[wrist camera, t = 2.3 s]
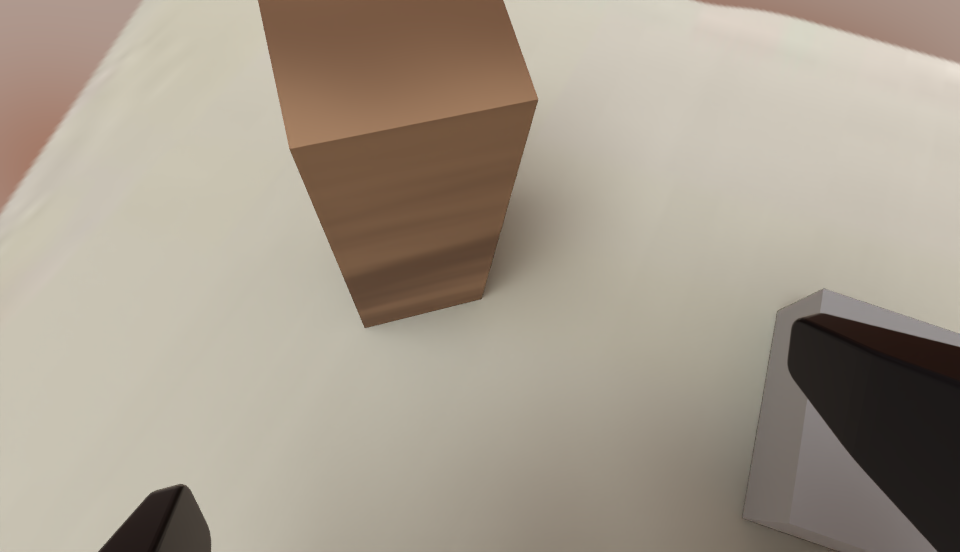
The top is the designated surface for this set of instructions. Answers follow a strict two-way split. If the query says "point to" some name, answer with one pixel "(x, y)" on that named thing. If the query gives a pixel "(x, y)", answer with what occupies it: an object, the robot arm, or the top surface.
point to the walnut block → (404, 139)
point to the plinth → (823, 450)
